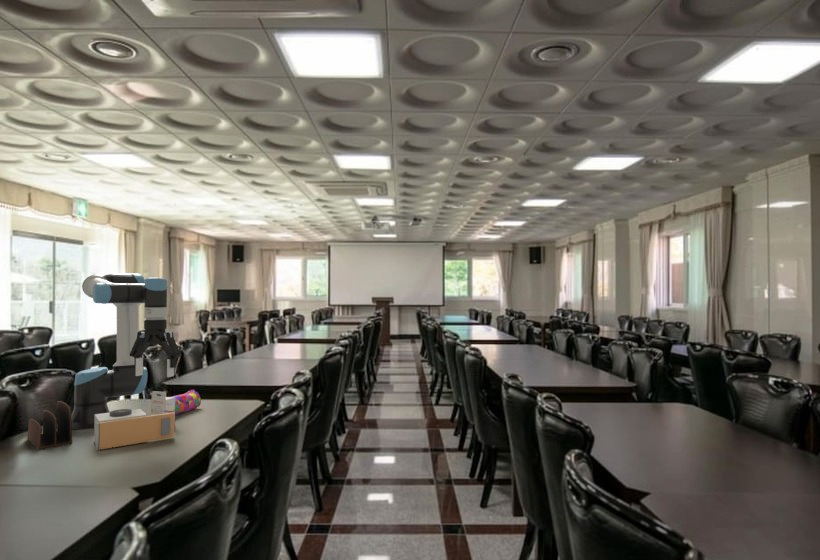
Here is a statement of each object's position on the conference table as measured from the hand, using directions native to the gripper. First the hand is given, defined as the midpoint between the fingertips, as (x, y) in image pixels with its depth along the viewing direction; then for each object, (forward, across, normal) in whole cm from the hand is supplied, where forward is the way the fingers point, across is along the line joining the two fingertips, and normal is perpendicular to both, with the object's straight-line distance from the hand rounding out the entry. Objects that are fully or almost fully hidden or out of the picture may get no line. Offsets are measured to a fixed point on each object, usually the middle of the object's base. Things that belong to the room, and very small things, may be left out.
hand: (154, 376), depth 183 cm
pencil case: (+24, -22, +42) cm, 54 cm away
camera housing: (+24, -12, -4) cm, 27 cm away
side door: (+23, -3, -5) cm, 24 cm away
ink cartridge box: (+24, -12, +19) cm, 33 cm away
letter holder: (+24, -38, -8) cm, 46 cm away
